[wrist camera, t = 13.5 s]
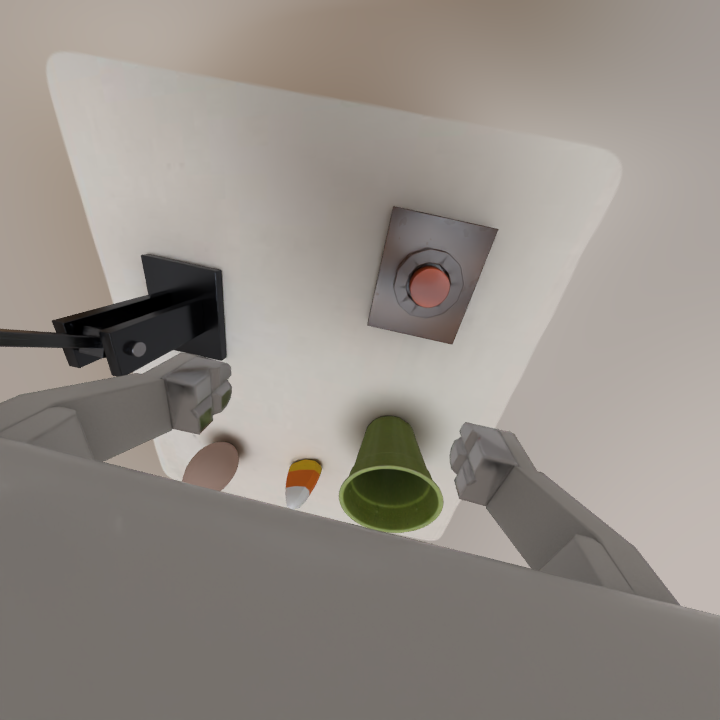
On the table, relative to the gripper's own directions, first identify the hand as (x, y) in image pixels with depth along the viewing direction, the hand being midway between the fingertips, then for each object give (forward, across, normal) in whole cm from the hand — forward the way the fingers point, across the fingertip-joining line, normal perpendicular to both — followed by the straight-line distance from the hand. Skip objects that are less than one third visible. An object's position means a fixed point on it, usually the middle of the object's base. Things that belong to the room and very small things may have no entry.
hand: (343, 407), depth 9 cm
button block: (+23, -5, -2) cm, 24 cm away
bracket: (+23, +23, +8) cm, 34 cm away
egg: (+24, +19, +32) cm, 44 cm away
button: (+19, -5, -2) cm, 20 cm away
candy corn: (+24, +5, +32) cm, 40 cm away
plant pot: (+24, -7, +21) cm, 32 cm away
